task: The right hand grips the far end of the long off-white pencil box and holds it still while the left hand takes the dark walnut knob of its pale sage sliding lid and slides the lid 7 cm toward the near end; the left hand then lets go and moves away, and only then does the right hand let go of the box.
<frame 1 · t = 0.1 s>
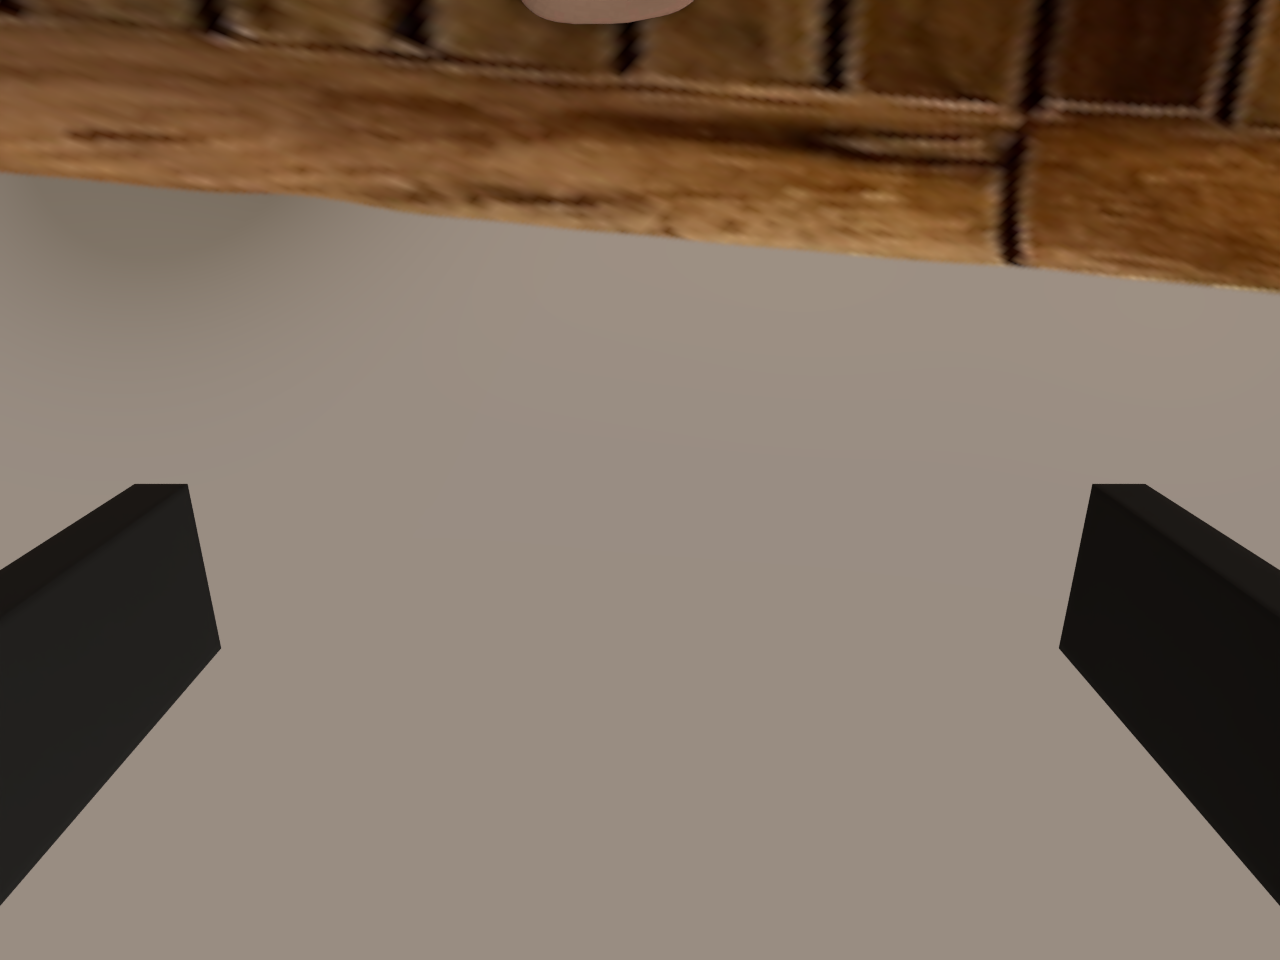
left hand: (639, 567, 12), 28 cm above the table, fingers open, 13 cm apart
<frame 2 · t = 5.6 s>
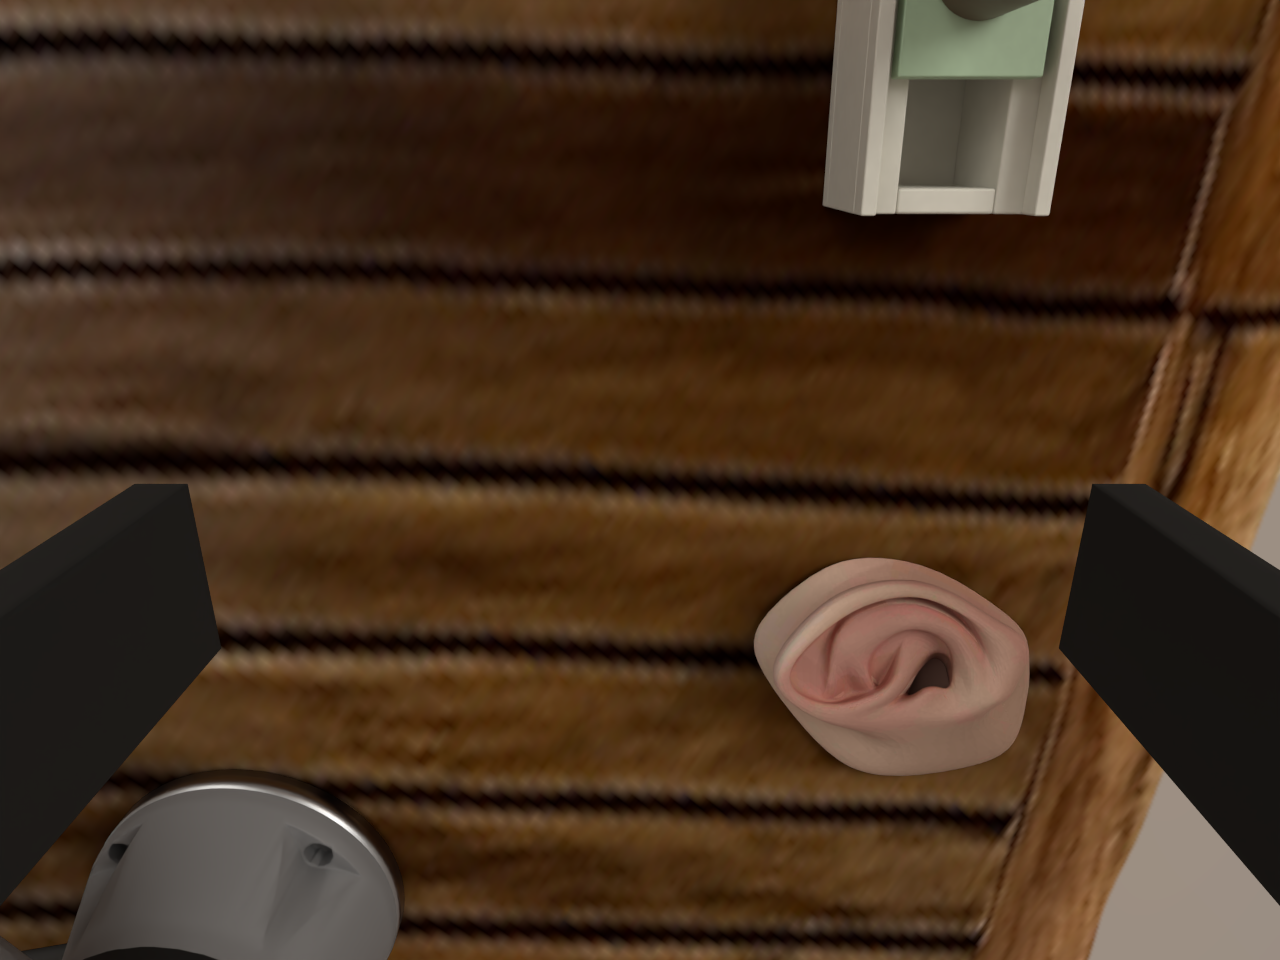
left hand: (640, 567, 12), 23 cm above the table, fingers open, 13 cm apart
anatomical model: (898, 666, 40), on the table
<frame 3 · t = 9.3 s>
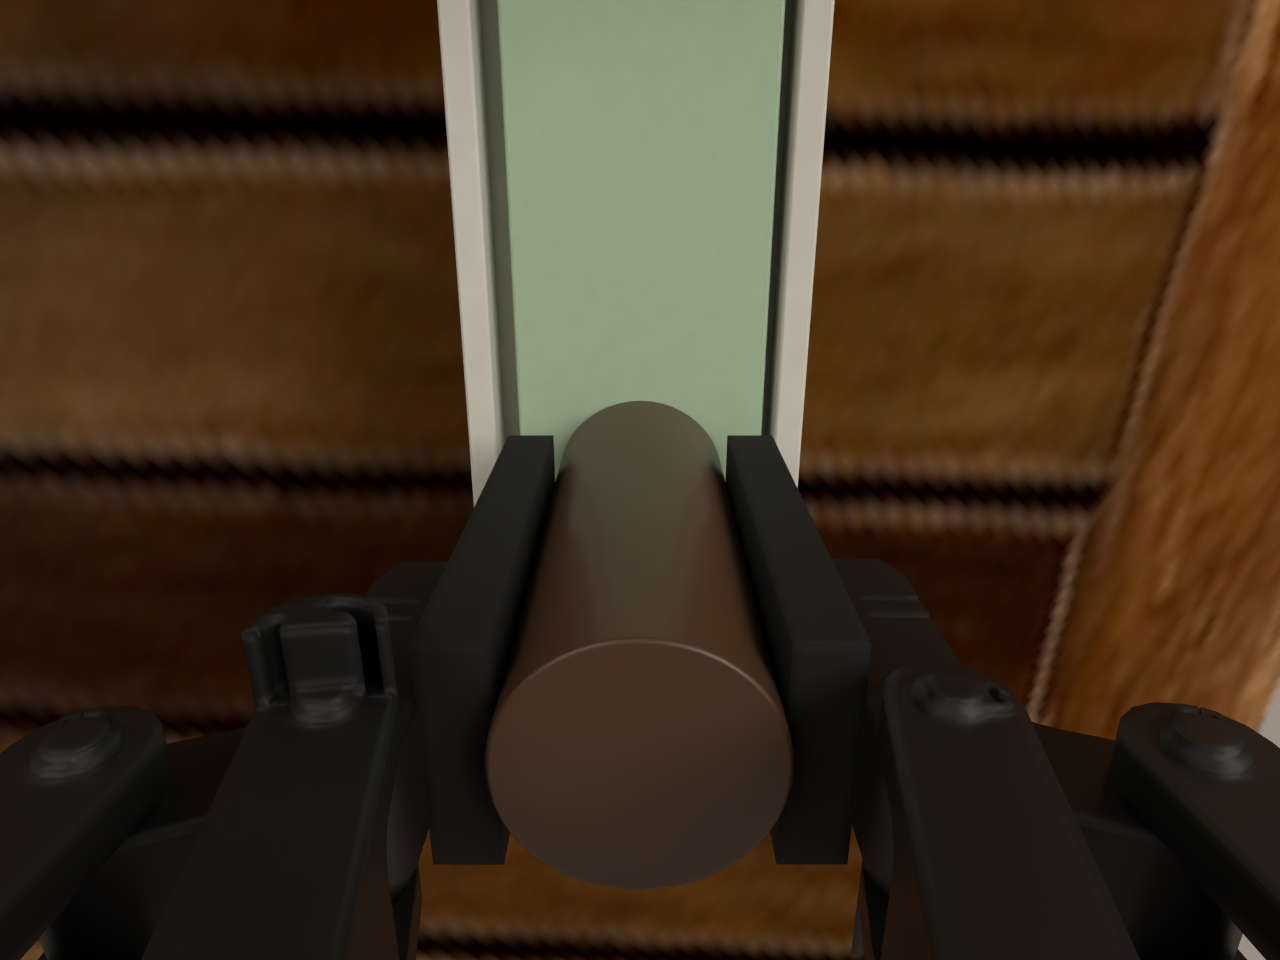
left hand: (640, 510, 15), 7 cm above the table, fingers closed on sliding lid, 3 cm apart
pencil box: (637, 182, 19), on the table, touching right hand
sliding lid: (641, 191, 15), point 5 cm above the table, touching left hand
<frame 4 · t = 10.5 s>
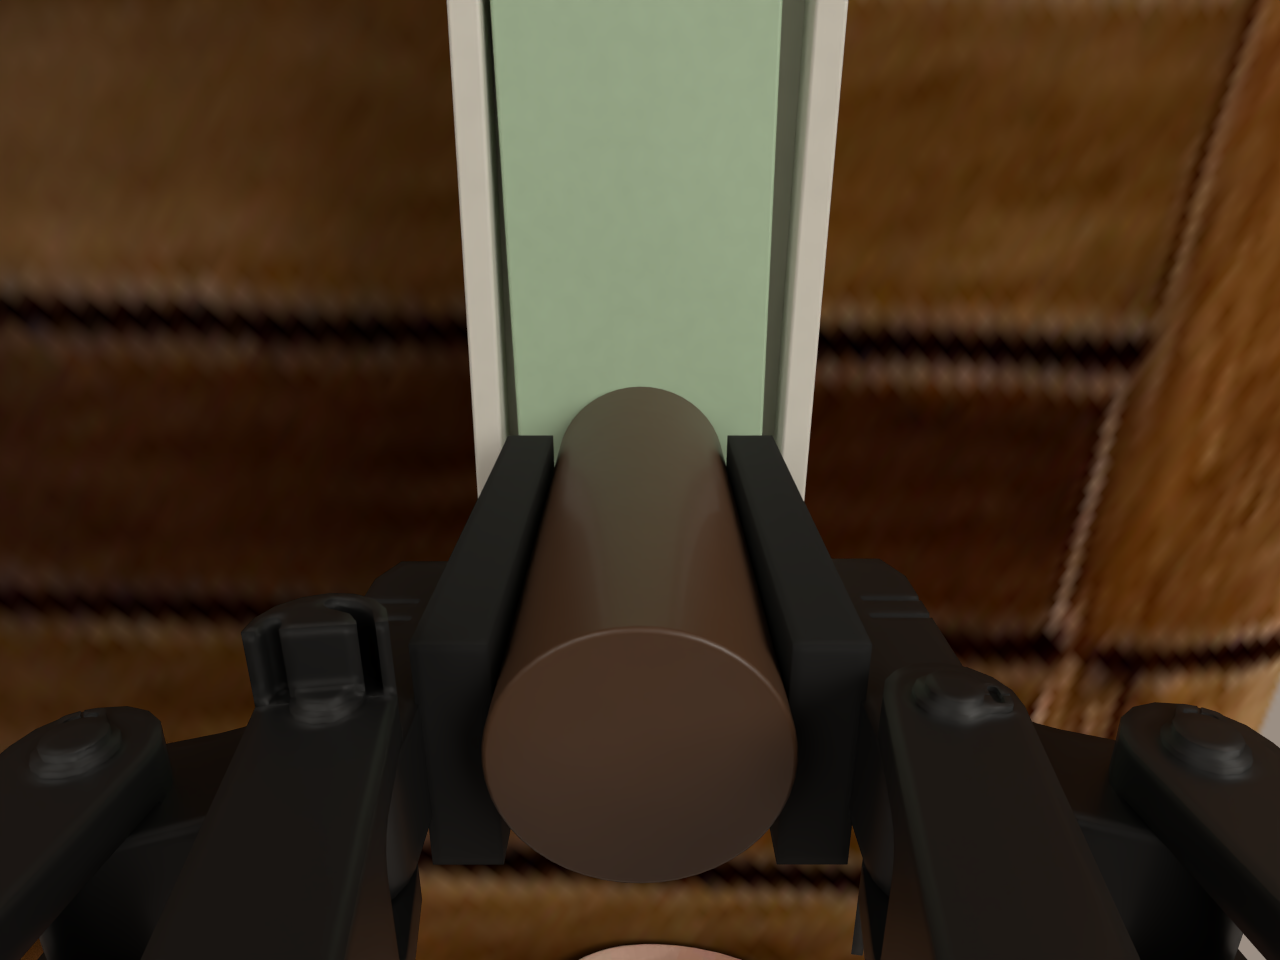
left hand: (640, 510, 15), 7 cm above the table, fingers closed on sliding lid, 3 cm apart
sliding lid: (638, 172, 14), point 5 cm above the table, touching left hand
when the left hand's fingers open (7 cm above the table, at t = 12.0 s): sliding lid stays where it is, resting on pencil box.
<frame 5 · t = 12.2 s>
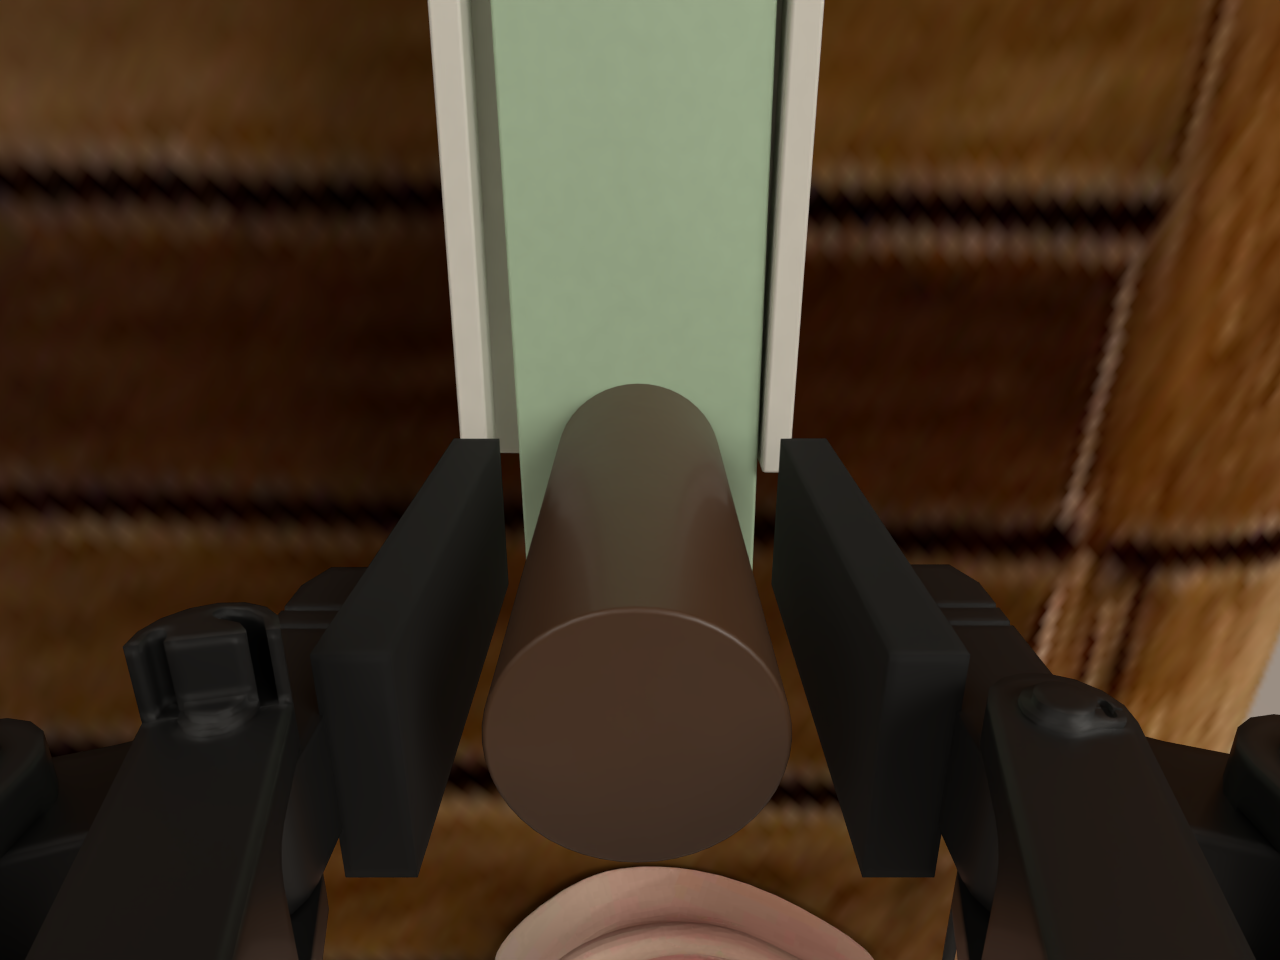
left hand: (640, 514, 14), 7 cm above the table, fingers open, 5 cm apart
sliding lid: (635, 173, 15), point 5 cm above the table, touching pencil box
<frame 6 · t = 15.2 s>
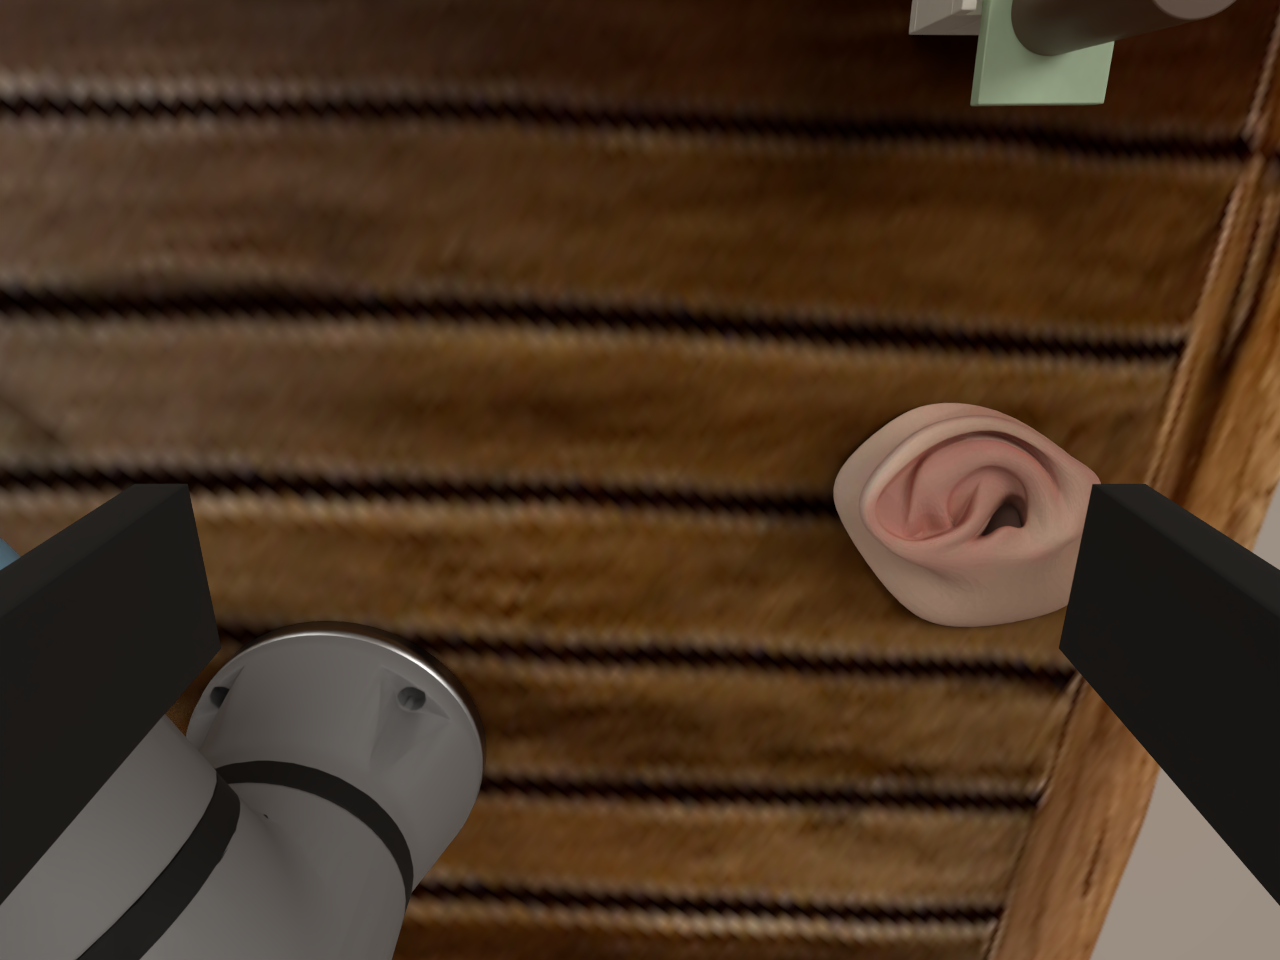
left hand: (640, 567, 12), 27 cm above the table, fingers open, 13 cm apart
anatomical model: (970, 516, 41), on the table
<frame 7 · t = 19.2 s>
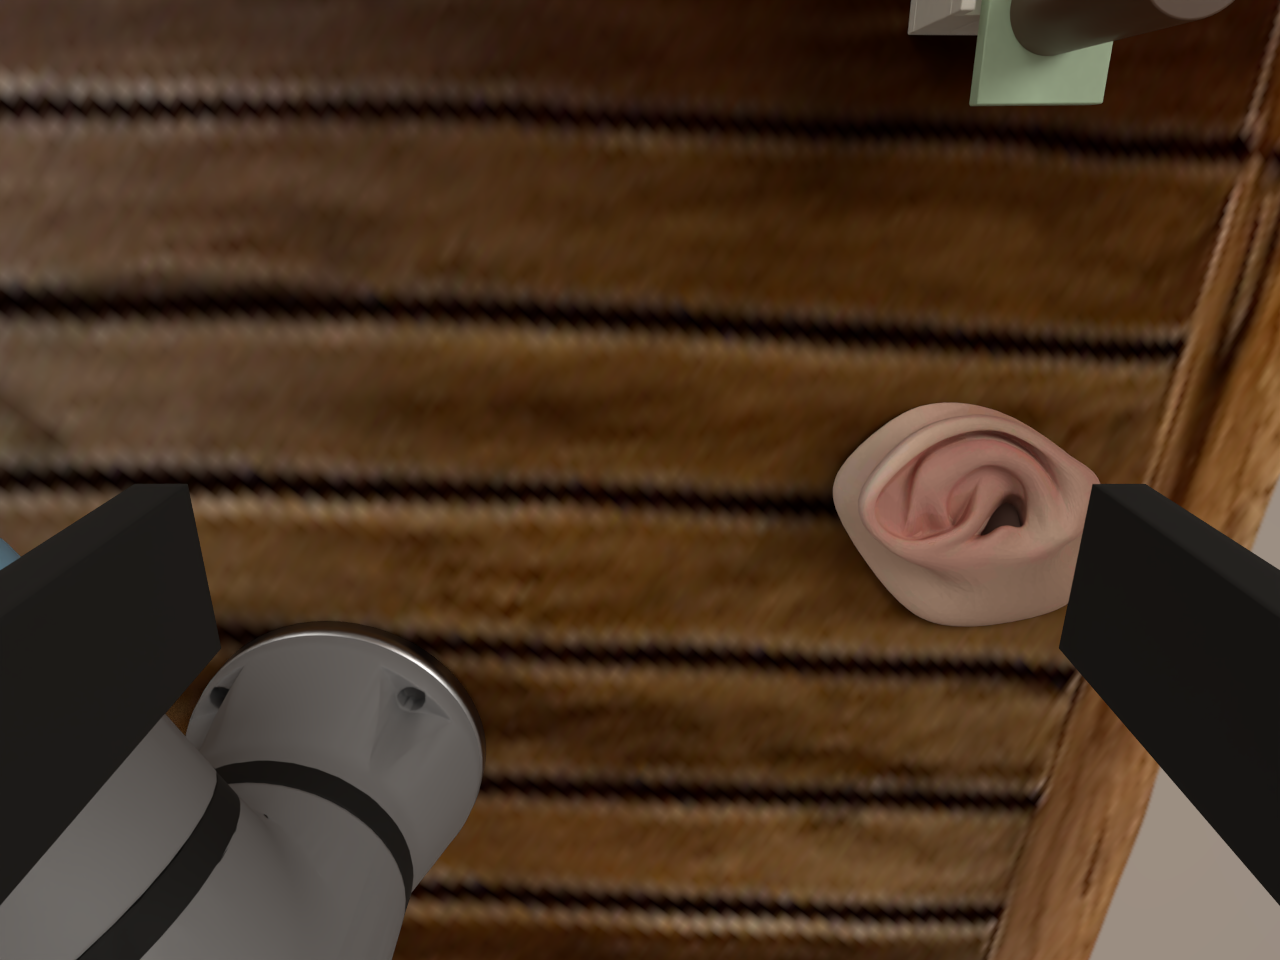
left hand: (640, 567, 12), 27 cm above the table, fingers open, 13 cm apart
anatomical model: (970, 516, 41), on the table
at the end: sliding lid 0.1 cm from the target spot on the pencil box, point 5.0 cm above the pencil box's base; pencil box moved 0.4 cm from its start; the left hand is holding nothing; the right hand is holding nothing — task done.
